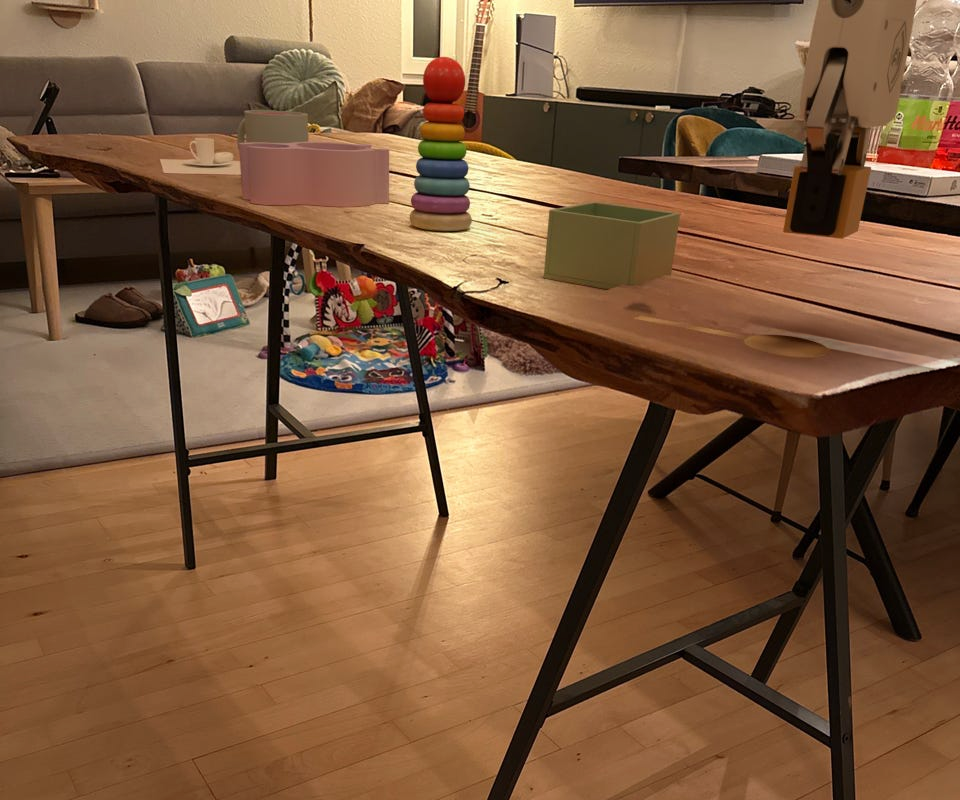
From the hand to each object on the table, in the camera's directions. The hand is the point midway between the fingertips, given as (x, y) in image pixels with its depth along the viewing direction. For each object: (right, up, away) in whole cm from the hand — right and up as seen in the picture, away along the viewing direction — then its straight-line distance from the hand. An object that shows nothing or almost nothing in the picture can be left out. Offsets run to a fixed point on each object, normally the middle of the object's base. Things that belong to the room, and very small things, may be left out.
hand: (821, 226), depth 73 cm
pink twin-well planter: (-50, +31, +65) cm, 87 cm away
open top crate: (-13, +7, +28) cm, 31 cm away
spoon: (-5, -7, +7) cm, 11 cm away
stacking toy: (-31, +21, +51) cm, 63 cm away
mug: (-59, +39, +77) cm, 104 cm away
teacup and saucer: (-70, +50, +92) cm, 126 cm away
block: (0, 0, 0) cm, 0 cm away
